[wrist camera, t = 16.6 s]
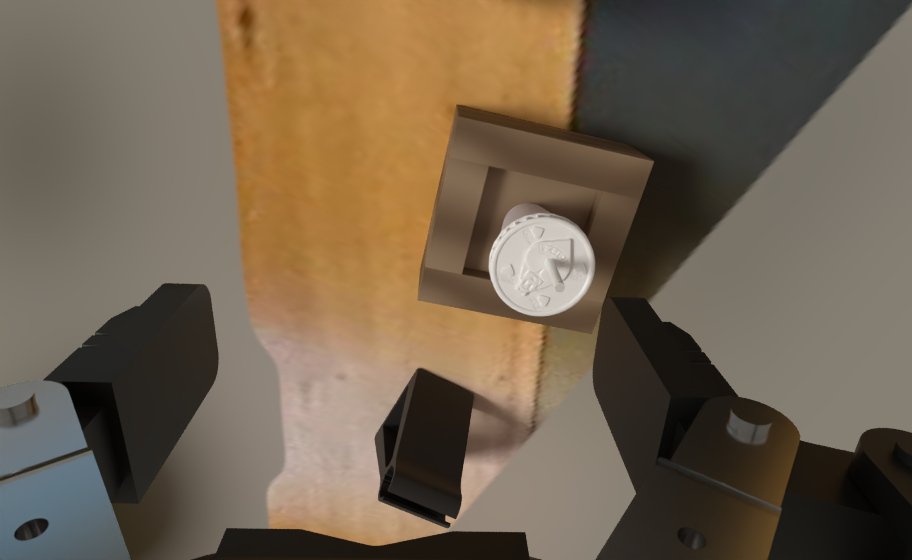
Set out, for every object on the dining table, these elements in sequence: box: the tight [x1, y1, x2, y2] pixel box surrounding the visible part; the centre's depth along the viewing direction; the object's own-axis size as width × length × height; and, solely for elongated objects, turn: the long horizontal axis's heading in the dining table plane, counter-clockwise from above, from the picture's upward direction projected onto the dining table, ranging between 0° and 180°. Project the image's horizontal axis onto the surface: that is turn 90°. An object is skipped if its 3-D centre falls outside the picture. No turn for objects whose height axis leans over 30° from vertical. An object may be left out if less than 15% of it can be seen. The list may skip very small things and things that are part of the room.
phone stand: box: [375, 369, 474, 528], centre depth 51 cm, size 9×6×12 cm, turn 150°
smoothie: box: [489, 203, 595, 316], centre depth 38 cm, size 6×6×14 cm
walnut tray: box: [418, 105, 654, 334], centre depth 46 cm, size 14×14×6 cm
